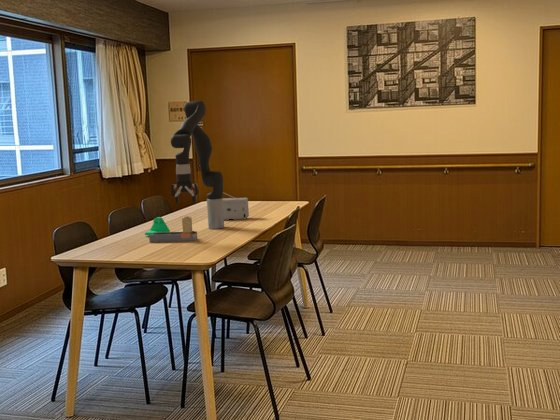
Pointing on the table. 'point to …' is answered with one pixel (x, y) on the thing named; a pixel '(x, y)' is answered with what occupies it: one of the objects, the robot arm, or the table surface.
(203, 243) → the table surface
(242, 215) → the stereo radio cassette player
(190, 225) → the tan upright block
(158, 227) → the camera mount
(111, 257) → the table surface
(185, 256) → the table surface
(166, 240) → the rail
